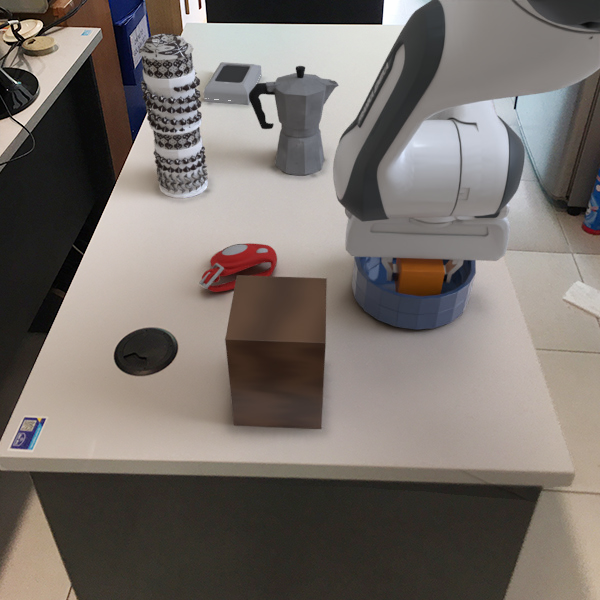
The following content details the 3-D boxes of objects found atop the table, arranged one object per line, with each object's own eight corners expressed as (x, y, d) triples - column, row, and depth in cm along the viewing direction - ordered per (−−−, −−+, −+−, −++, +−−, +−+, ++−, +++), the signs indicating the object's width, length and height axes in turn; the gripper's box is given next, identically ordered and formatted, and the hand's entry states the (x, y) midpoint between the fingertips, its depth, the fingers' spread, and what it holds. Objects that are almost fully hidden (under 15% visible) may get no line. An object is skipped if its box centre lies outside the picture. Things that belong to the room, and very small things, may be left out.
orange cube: (433, 277, 88) (439, 246, 84) (438, 304, 84) (445, 272, 80) (394, 276, 88) (398, 244, 84) (396, 302, 84) (401, 270, 80)
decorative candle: (209, 169, 114) (194, 26, 97) (211, 197, 107) (197, 48, 90) (157, 173, 113) (134, 29, 96) (157, 201, 106) (132, 51, 89)
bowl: (482, 278, 92) (490, 245, 88) (444, 348, 81) (452, 314, 77) (380, 245, 97) (383, 212, 93) (332, 306, 87) (334, 272, 83)
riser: (322, 363, 79) (326, 278, 70) (321, 428, 71) (325, 342, 62) (243, 360, 79) (236, 275, 70) (233, 425, 72) (224, 339, 62)
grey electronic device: (260, 60, 143) (247, 87, 132) (261, 76, 145) (248, 104, 134) (219, 58, 144) (202, 84, 133) (221, 74, 146) (204, 101, 135)
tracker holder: (213, 241, 96) (276, 231, 94) (221, 267, 98) (283, 258, 96) (190, 275, 85) (260, 266, 83) (199, 304, 87) (268, 295, 85)
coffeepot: (328, 147, 120) (332, 53, 108) (340, 172, 113) (346, 74, 101) (248, 155, 118) (243, 59, 106) (256, 181, 111) (251, 81, 99)
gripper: (346, 202, 73) (340, 292, 82) (524, 207, 73) (497, 297, 82) (345, 174, 78) (340, 262, 87) (512, 179, 77) (489, 266, 86)
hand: (417, 279), depth 84 cm, fingers closed on orange cube, 5 cm apart
